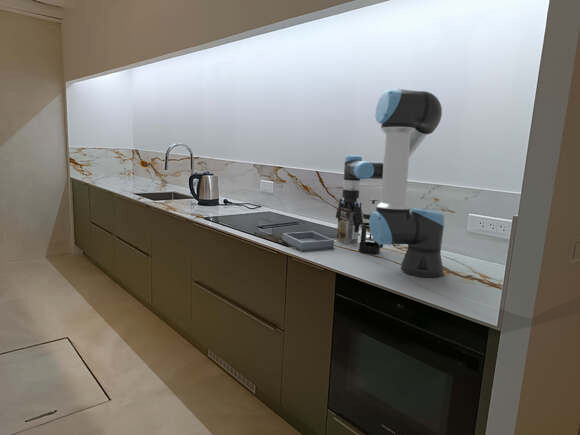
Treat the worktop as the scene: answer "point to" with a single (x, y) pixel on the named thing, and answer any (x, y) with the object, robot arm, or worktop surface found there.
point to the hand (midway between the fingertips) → (347, 236)
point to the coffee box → (346, 227)
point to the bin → (308, 241)
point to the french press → (368, 236)
